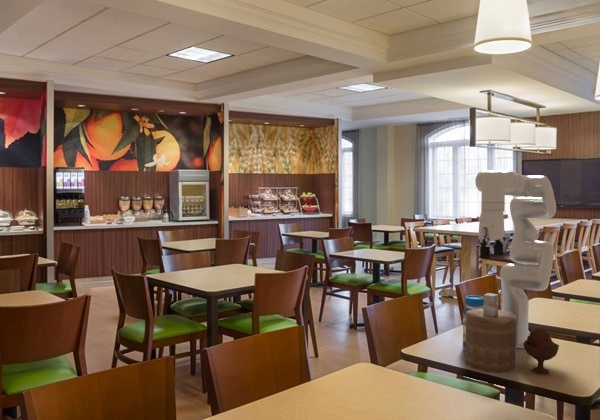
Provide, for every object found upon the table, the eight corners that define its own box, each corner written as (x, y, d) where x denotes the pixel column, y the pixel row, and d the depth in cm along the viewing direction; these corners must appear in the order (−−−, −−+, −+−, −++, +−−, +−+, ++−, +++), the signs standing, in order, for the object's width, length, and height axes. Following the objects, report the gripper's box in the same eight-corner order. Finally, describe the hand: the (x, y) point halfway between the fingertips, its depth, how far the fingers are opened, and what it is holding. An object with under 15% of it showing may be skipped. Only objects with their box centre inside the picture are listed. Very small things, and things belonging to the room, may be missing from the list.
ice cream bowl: (562, 378, 176) (564, 333, 175) (526, 376, 179) (527, 331, 178) (554, 367, 187) (555, 324, 186) (519, 365, 189) (520, 322, 188)
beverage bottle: (484, 353, 201) (485, 300, 200) (461, 351, 205) (461, 298, 203) (486, 347, 209) (487, 295, 208) (463, 344, 212) (464, 293, 211)
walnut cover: (479, 352, 202) (480, 287, 201) (523, 364, 190) (525, 294, 189) (456, 363, 191) (457, 294, 189) (501, 376, 179) (503, 302, 177)
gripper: (494, 205, 196) (493, 253, 197) (470, 207, 184) (469, 258, 185) (514, 206, 190) (513, 255, 191) (491, 208, 178) (490, 260, 179)
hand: (491, 256), depth 188 cm, fingers open, 9 cm apart
